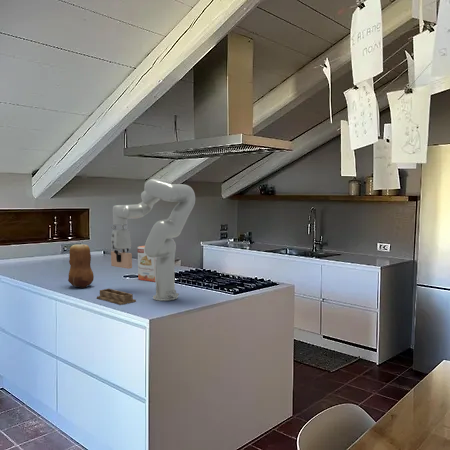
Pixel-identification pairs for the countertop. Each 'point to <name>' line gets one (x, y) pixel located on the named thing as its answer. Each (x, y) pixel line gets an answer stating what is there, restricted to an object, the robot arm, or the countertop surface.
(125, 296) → the slot rack
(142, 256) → the cracker box
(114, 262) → the clay strip
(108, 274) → the countertop surface
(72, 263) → the butternut squash
